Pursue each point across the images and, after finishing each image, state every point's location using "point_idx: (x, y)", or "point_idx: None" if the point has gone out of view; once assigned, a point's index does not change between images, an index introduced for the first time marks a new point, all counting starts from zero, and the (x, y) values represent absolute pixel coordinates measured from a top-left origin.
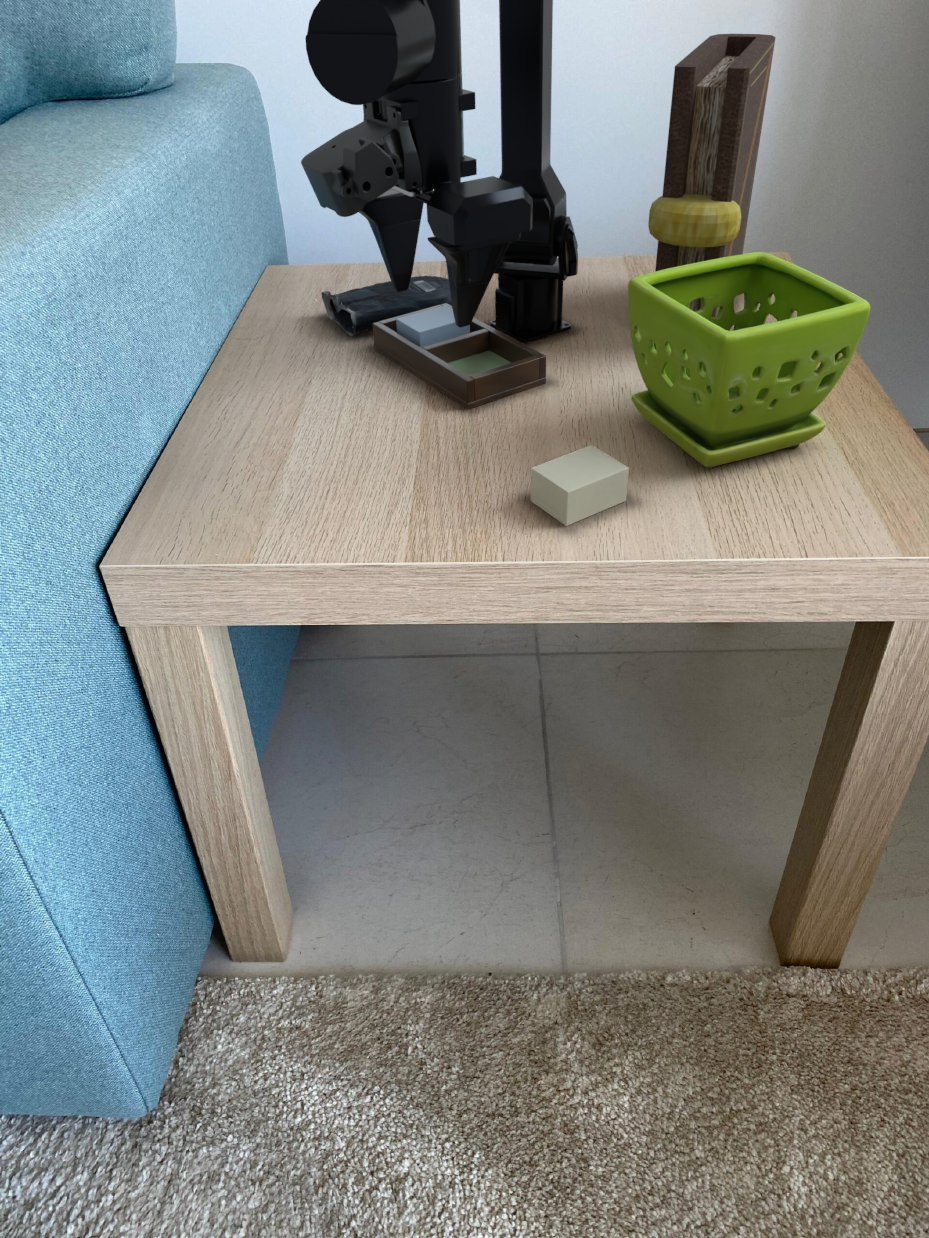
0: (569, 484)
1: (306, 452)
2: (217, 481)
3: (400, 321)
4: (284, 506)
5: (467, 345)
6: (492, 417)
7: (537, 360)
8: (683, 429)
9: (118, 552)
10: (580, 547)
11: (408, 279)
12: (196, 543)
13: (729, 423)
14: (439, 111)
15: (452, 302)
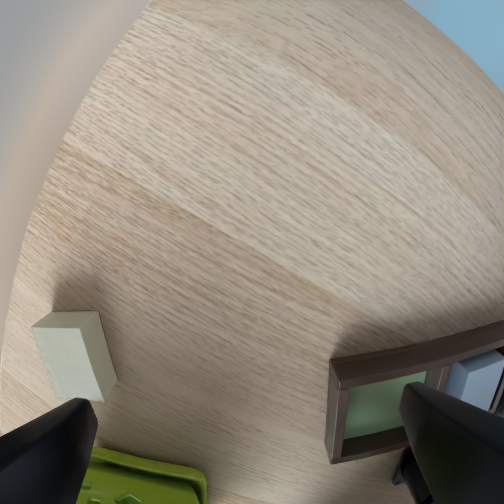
0: (41, 337)
1: (350, 128)
2: (333, 18)
3: (499, 361)
4: (233, 54)
5: None
6: (294, 374)
7: (331, 455)
8: (130, 468)
9: None
10: (25, 300)
11: (408, 427)
12: None
13: None
14: None
15: (46, 426)
